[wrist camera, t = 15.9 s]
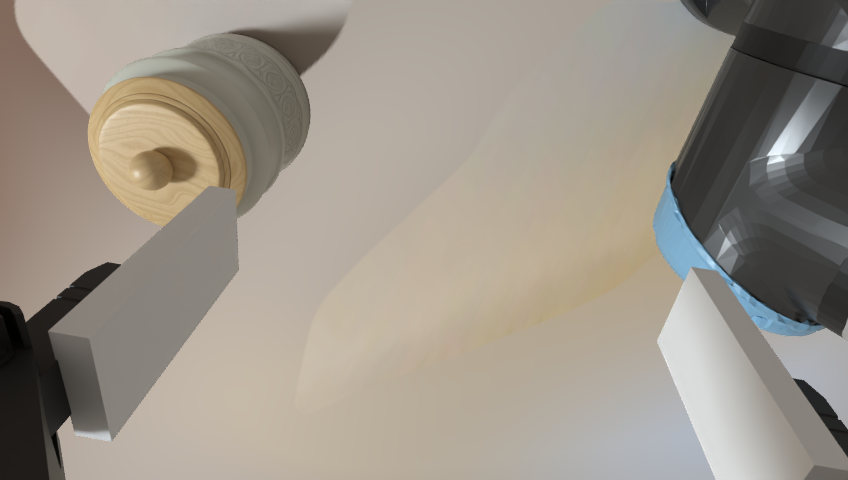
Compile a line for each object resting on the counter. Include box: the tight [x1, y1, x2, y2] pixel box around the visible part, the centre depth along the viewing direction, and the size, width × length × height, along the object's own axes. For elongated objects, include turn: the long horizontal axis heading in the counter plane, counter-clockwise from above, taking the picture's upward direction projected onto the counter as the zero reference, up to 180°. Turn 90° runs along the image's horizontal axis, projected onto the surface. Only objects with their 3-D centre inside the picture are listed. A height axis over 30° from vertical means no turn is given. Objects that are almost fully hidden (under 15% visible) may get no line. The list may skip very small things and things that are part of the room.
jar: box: [88, 33, 310, 226], centre depth 43 cm, size 13×13×18 cm
